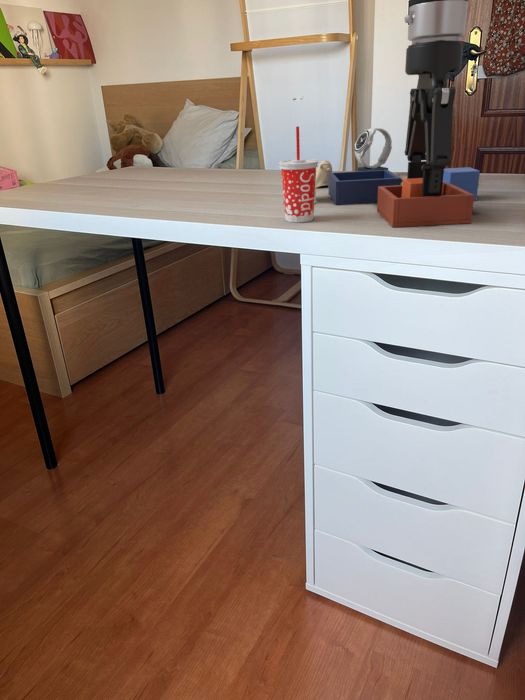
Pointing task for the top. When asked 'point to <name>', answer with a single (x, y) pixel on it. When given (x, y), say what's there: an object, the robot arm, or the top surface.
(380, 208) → the rust bin
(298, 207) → the beverage cup
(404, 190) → the terracotta block
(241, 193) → the top surface
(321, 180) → the decorative ornament
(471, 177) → the slate blue block
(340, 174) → the navy bin
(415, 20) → the robot arm
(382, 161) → the watch
